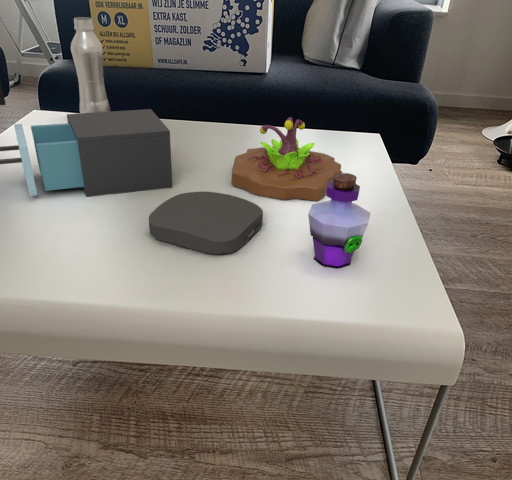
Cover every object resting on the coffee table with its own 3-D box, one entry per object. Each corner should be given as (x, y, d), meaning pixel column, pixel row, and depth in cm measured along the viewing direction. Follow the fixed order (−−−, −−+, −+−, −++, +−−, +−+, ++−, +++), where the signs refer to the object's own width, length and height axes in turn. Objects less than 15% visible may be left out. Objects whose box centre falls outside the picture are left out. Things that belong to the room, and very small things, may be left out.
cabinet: (86, 196, 89) (77, 137, 83) (75, 169, 98) (66, 114, 92) (172, 187, 94) (169, 130, 88) (154, 162, 103) (151, 108, 97)
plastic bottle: (115, 119, 123) (104, 17, 110) (105, 128, 117) (92, 22, 105) (88, 117, 123) (74, 15, 111) (76, 125, 118) (60, 19, 106)
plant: (217, 191, 94) (217, 123, 87) (245, 154, 109) (247, 94, 102) (332, 207, 91) (342, 139, 84) (345, 167, 106) (354, 106, 99)
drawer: (-5, 199, 85) (-18, 149, 80) (-7, 173, 93) (-19, 126, 88) (115, 187, 91) (109, 139, 86) (102, 163, 99) (97, 118, 94)
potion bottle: (344, 281, 72) (359, 195, 65) (290, 259, 76) (298, 176, 69) (373, 257, 78) (390, 175, 70) (322, 238, 82) (333, 159, 74)
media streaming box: (139, 237, 79) (137, 218, 77) (189, 201, 90) (188, 183, 88) (229, 261, 75) (229, 241, 73) (270, 220, 86) (271, 202, 84)
